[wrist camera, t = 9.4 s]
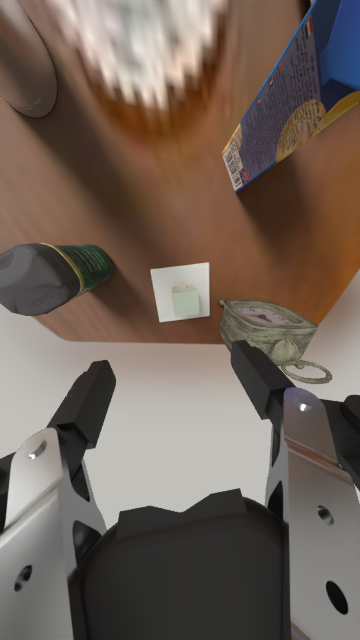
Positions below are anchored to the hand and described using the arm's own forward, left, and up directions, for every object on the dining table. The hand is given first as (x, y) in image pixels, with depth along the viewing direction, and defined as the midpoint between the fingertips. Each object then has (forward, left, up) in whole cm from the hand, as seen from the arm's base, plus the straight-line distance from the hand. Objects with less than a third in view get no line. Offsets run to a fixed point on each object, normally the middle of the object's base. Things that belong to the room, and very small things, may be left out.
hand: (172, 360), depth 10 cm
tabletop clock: (+12, +18, -30) cm, 37 cm away
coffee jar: (-4, -17, -30) cm, 34 cm away
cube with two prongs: (+5, +3, -29) cm, 30 cm away
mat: (+5, +3, -30) cm, 30 cm away
